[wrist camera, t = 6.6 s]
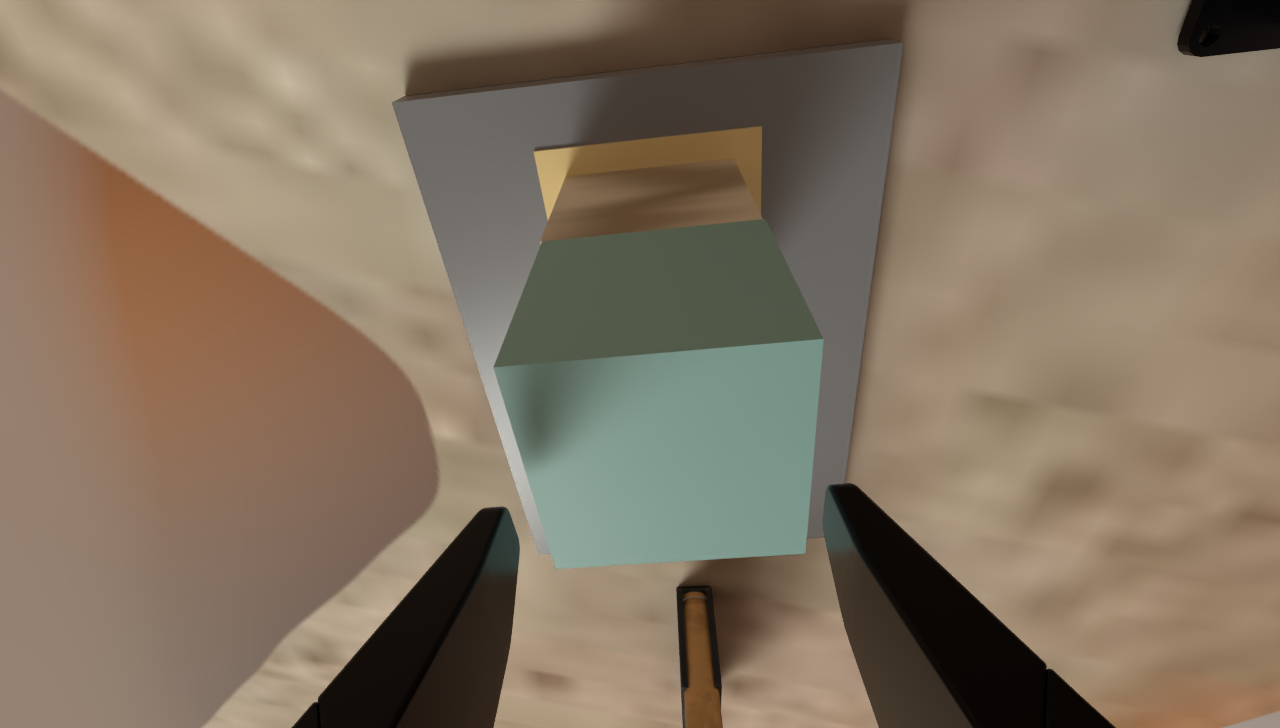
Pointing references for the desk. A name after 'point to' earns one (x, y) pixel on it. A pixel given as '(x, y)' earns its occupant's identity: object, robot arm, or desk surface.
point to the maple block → (650, 200)
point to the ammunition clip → (698, 659)
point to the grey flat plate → (661, 136)
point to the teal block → (665, 395)
